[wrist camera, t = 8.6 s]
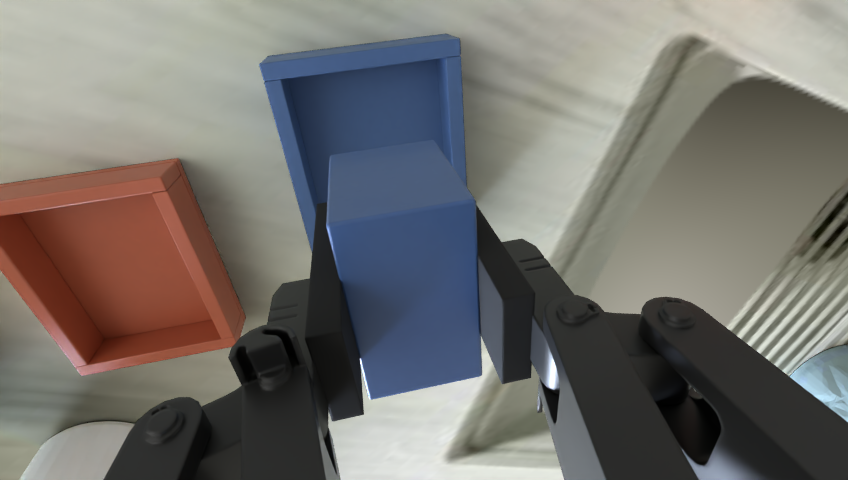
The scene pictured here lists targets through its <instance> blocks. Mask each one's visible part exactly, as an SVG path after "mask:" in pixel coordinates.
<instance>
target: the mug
mask: <svg viewBox="0 0 848 480" xmlns="http://www.w3.org/2000/svg"><path fill="white" fill-rule="evenodd" d="M134 425H135V424H132V423H126V422H114V421H103V422H91V423H86V424H81V425H77V426H74V427H71V428H68V429H66V430H64V431H62V432H60V433H58V434H56V435H55V436H53V437H51V438H50V439H49V440H47V441H46V442H45V443H44V444H43V445H42V446H41V447H40V449H39V450H38V452H37V453H36V455H35V456H34V458H33V459H32V461H31V462H30V464H29V465H28V467H27V469H26V470H25V472H24V473H23V475H22V476H21V478H20V479H19V480H103V479H104V478H105V476H106V474H107V472H108V470H109V468H110V467H111V465H112V463H113V461H114V459H115V457H116V455H117V454H118V452H119V450H120V448H121V446H122V444H123V443H124V441H125V439H126V437H127V435H128V433H129V432H130V430H131V429H132V428H133V426H134Z"/></svg>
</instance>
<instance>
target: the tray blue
mask: <svg viewBox="0 0 848 480" xmlns="http://www.w3.org/2000/svg"><path fill="white" fill-rule="evenodd" d="M460 55H461V49H460V39H459V38H457V37H454V36H451V35H448V34H440V35H432V36H424V37H416V38H408V39H400V40H392V41H384V42H376V43H368V44H360V45H352V46H344V47H336V48H328V49H320V50H312V51H304V52H296V53H288V54H280V55H272V56H268V57H266V59H264V60H263V61H262V62H261V63H260V64H259V66H260V69H261V73H262V76H263V80H264V81H265V82H264V84H265V87H266V91H267V94H268V98H269V101H270V105H271V109H272V112H273V116H274V119H275V123H276V126H277V130H278V133H279V137H280V141H281V144H282V148H283V151H284V155H285V158H286V162H287V165H288V169H289V172H290V176H291V180H292V183H293V187H294V190H295V194H296V197H297V201H298V204H299V208H300V212H301V215H302V219H303V222H304V226H305V229H306V233H307V236H308V240H309V243H310V247H311V251H313V240H314V229H315V218H316V207H317V204H319V203H325V202H327V201H328V181H329V161H330V156H331V155H334V154H341V153H348V152H354V151H361V150H367V149H374V148H381V147H387V146H394V145H400V144H407V143H414V142H420V141H427V140H434V141H435V143H436V144H437V145H438V147H439V148H440V150H441V151H442V153H443V154H444V156H445V157H446V158H447V160H448V161H449V163H450V164H451V166H452V167H453V168H454V170H455V171H456V173H457V174H458V176H459V177H460V179H461V180H462V181H463V183H464V184H465V186H466V187H467V180H466V158H465V136H464V114H463V92H462V70H461V56H460Z"/></svg>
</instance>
